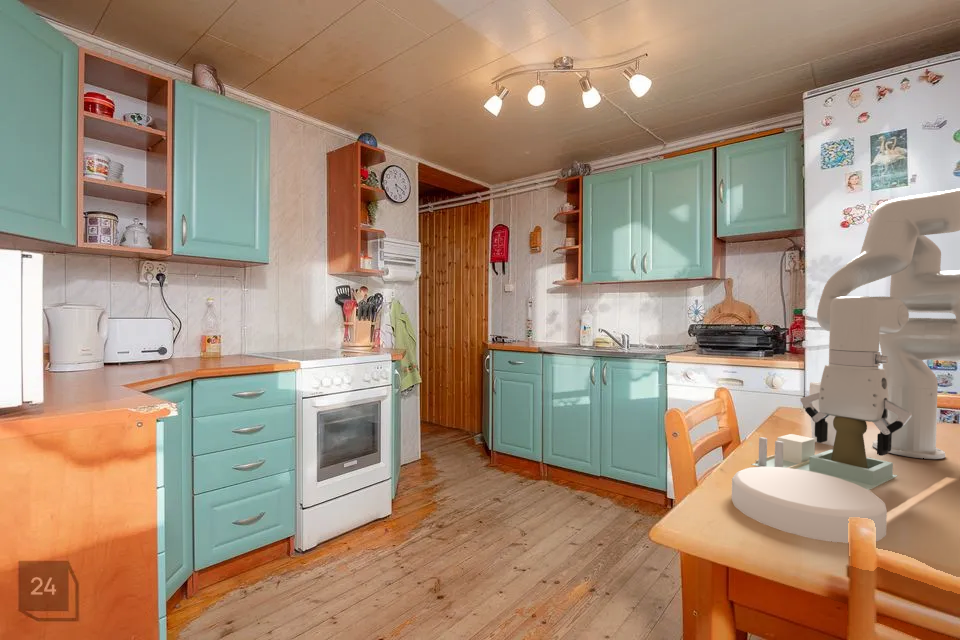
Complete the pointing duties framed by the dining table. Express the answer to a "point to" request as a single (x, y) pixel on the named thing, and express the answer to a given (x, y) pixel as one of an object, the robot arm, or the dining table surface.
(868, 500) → the container
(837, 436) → the olive tapered round-topped piece
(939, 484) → the dining table surface
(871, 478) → the base
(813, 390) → the drinking glass
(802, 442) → the block
